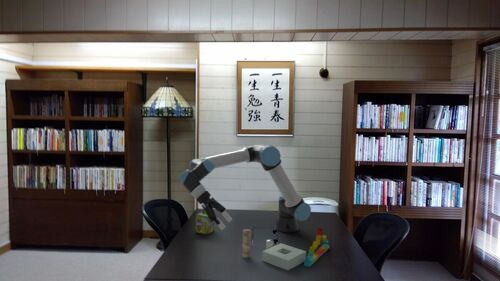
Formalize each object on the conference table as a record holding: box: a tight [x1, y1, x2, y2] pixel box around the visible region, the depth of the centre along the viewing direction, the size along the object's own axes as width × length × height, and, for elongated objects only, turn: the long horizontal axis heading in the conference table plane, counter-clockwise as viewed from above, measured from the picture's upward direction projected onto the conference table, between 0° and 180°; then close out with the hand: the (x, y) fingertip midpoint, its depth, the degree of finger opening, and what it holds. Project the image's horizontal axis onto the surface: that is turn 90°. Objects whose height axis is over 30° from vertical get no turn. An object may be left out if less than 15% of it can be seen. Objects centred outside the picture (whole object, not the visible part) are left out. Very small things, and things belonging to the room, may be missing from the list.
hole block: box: [261, 243, 307, 271], centre depth 173 cm, size 16×16×5 cm
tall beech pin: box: [242, 228, 252, 259], centre depth 176 cm, size 4×4×14 cm
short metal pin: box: [265, 238, 274, 250], centre depth 188 cm, size 4×4×5 cm
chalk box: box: [194, 208, 216, 236], centre depth 213 cm, size 9×9×15 cm
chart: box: [303, 227, 330, 268], centre depth 180 cm, size 30×3×15 cm, turn 149°
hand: (227, 224), depth 178 cm, fingers open, 13 cm apart
